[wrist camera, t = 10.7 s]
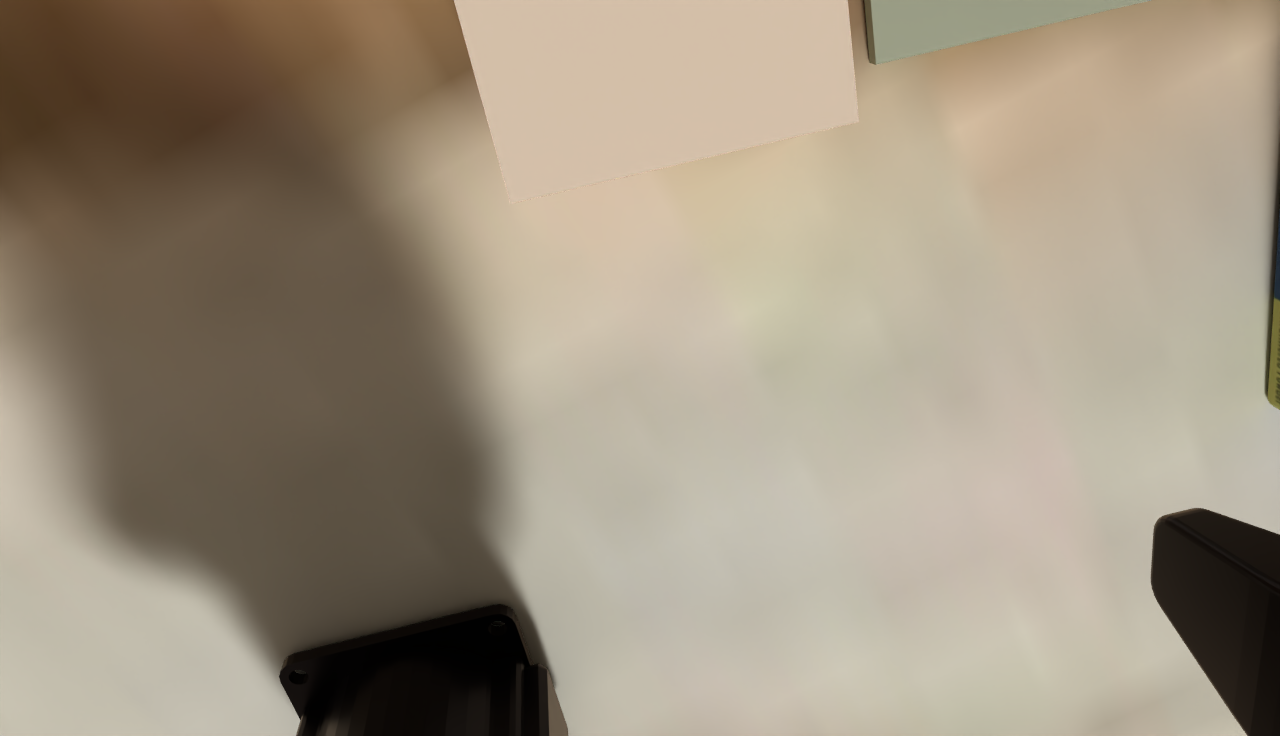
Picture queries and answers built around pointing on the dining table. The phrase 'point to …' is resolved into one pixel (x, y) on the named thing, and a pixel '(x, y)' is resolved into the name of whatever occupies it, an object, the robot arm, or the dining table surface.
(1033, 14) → the mat
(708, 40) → the box
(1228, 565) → the robot arm
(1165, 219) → the dining table surface
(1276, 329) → the protein box
